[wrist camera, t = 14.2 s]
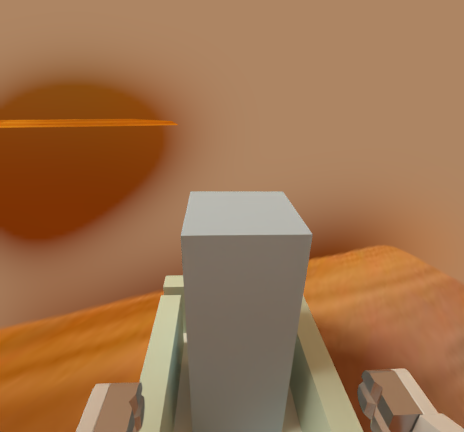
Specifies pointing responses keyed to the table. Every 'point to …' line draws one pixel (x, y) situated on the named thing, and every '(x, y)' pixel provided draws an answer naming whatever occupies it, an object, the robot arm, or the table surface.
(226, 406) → the block
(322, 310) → the table surface
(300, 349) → the cradle
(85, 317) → the table surface
